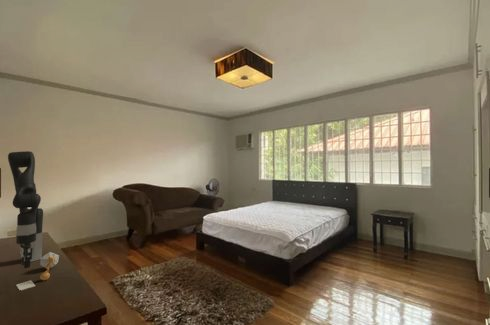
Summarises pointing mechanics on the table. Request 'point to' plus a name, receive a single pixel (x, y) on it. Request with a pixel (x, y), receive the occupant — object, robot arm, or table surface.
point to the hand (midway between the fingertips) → (25, 266)
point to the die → (45, 259)
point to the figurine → (46, 275)
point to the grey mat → (25, 285)
